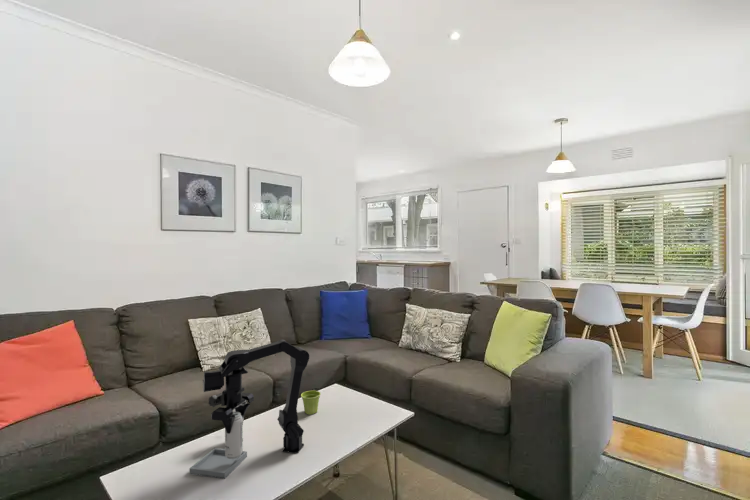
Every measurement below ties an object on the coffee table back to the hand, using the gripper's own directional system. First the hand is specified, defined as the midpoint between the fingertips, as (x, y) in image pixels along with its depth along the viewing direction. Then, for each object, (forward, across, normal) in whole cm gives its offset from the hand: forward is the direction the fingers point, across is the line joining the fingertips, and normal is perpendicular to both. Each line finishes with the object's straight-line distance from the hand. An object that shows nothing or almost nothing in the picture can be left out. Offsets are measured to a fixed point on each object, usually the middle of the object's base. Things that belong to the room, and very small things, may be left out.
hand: (233, 429), depth 138 cm
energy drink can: (+10, 0, 0) cm, 10 cm away
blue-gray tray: (+13, +1, -5) cm, 14 cm away
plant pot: (+13, -48, +11) cm, 51 cm away
